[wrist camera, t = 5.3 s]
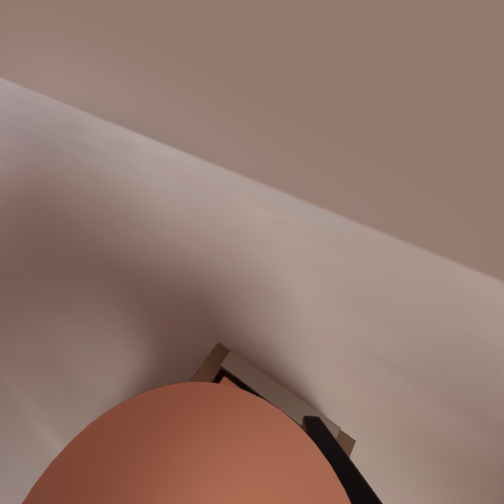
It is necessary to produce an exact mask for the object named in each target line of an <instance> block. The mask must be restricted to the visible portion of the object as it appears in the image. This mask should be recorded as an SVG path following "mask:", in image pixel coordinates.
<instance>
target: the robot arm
mask: <svg viewBox="0 0 504 504" xmlns="http://www.w3.org/2000/svg"><path fill="white" fill-rule="evenodd" d="M301 429H302V430H303V431H304V432H305V433H306V434H307V435H308V436H309V437H310V438H311V440H312V441H313V442H314V443H315V444H316V445H317V447H318V448H319V450H320V451H321V452H322V454H323V455H324V457H325V458H326V459H327V461H328V462H329V463H330V465H331V467H332V468H333V470H334V472H335V474H336V475H337V477H338V479H339V481H340V482H341V484H342V486H343V488H344V489H345V491H346V494H347V496H348V498H349V500H350V503H351V504H382V502H381V501H380V499H379V498H378V497H377V495H376V494H375V493H374V491H373V490H372V488H371V487H370V486H369V484H368V483H367V481H366V480H365V479H364V477H363V476H362V475H361V473H360V472H359V470H358V469H357V468H356V466H355V465H354V464H353V462H352V461H351V459H350V458H349V457H348V455H347V454H346V453H345V451H344V450H343V448H342V447H341V446H340V444H339V443H338V442H337V440H336V439H335V437H334V436H333V435H332V433H331V432H330V430H329V429H328V428H327V426H326V425H325V424H324V422H323V421H322V419H321V418H320V417H318V416H312V415H305V416H303V419H302V428H301Z"/></svg>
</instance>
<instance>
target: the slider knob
mask: <svg viewBox="0 0 504 504" xmlns="http://www.w3.org/2000/svg"><path fill="white" fill-rule="evenodd" d="M22 504H351V503H350V500H349V498H348V496H347V494H346V491H345V489H344V488H343V486H342V484H341V482H340V481H339V479H338V477H337V475H336V474H335V472H334V470H333V468H332V467H331V465H330V463H329V462H328V461H327V459H326V458H325V457H324V455H323V454H322V452H321V451H320V450H319V448H318V447H317V445H316V444H315V443H314V442H313V441H312V440H311V438H310V437H309V436H308V435H307V434H306V433H305V432H304V431H303V430H302V429H301V428H300V426H299V425H297V424H296V423H295V422H294V421H293V420H292V419H290V418H289V417H288V416H287V415H286V414H285V413H283V412H282V411H281V410H279V409H278V408H276V407H275V406H273V405H272V404H270V403H269V402H267V401H266V400H264V399H262V398H260V397H258V396H256V395H254V394H251V393H249V392H247V391H245V390H242V389H241V388H239V387H238V386H237V385H235V384H234V383H233V382H231V381H230V380H229V379H227V378H226V377H225V376H224V377H223V379H222V380H221V382H220V383H219V384H217V383H210V382H185V383H177V384H170V385H166V386H162V387H159V388H155V389H151V390H148V391H146V392H144V393H141V394H139V395H136V396H134V397H132V398H129V399H128V400H126V401H124V402H122V403H121V404H119V405H117V406H115V407H114V408H112V409H110V410H109V411H107V412H106V413H105V414H103V415H102V416H100V417H99V418H98V419H96V420H95V421H94V422H92V423H91V424H90V425H89V426H87V427H86V428H85V429H84V430H83V431H82V432H81V433H80V434H79V435H77V436H76V437H75V438H74V439H73V440H72V441H71V442H70V443H69V444H68V445H67V446H66V447H65V448H64V449H63V451H62V452H61V453H60V454H59V455H58V456H57V457H56V458H55V459H54V460H53V461H52V463H51V464H50V465H49V467H48V468H47V469H46V470H45V472H44V473H43V474H42V476H41V477H40V478H39V480H38V481H37V482H36V484H35V485H34V486H33V488H32V489H31V491H30V492H29V494H28V496H27V497H26V499H25V500H24V502H23V503H22Z"/></svg>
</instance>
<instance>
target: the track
mask: <svg viewBox="0 0 504 504" xmlns="http://www.w3.org/2000/svg"><path fill="white" fill-rule="evenodd" d="M224 376H225V377H226V378H227V379H229V380H230V381H231V382H233V383H234V384H235V385H237V386H238V387H239V388H241V389H242V390H245V391H247V392H249V393H251V394H254V395H256V396H258V397H260V398H262V399H264V400H266V401H267V402H269V403H270V404H272V405H273V406H275V407H276V408H278V409H279V410H281V411H282V412H283V413H285V414H286V415H287V416H288V417H289V418H290V419H292V420H293V421H294V422H295V423H296V424H297V425H299V426H300V428H302V419H303V416H305V415H312V416H318V417H320V418H321V419H322V421H323V422H324V424H325V425H326V426H327V428H328V429H329V430H330V432H331V433H332V435H333V436H334V437H335V439H336V440H337V442H338V443H339V444H340V446H341V447H342V448H343V450H344V451H345V453H346V454H347V455H348V457H350V454H351V452H352V449H353V447H354V444H355V442H356V441H355V440H354V439H353V438H351V437H350V436H348V435H347V434H346V433H344V432H343V431H341V430H340V429H341V428H340V427H339V426H337V425H336V424H335V423H333V422H332V421H330V420H329V419H328V418H326V417H325V416H323V415H322V414H321V413H319V412H318V411H316V410H315V409H314V408H312V407H311V406H309V405H308V404H307V403H305V402H304V401H302V400H301V399H300V398H298V397H297V396H295V395H294V394H293V393H291V392H290V391H289V390H287V389H286V388H284V387H283V386H282V385H280V384H279V383H277V382H276V381H275V380H273V379H272V378H270V377H269V376H268V375H266V374H265V373H263V372H262V371H261V370H259V369H258V368H256V367H255V366H254V365H252V364H251V363H249V362H248V361H247V360H245V359H244V358H243V357H241V356H240V355H238V354H237V353H236V352H234V351H233V350H229V349H228V348H226V347H225V346H223V345H222V344H221V343H219V342H218V343H217V345H216V346H215V348H214V349H213V350H212V352H211V353H210V355H209V356H208V357H207V359H206V360H205V361H204V363H203V364H202V366H201V367H200V368H199V370H198V371H197V373H196V374H195V375H194V377H193V378H192V379H191V381H190V382H210V383H217V384H219V383H220V382H221V380H222V379H223V377H224Z"/></svg>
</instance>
